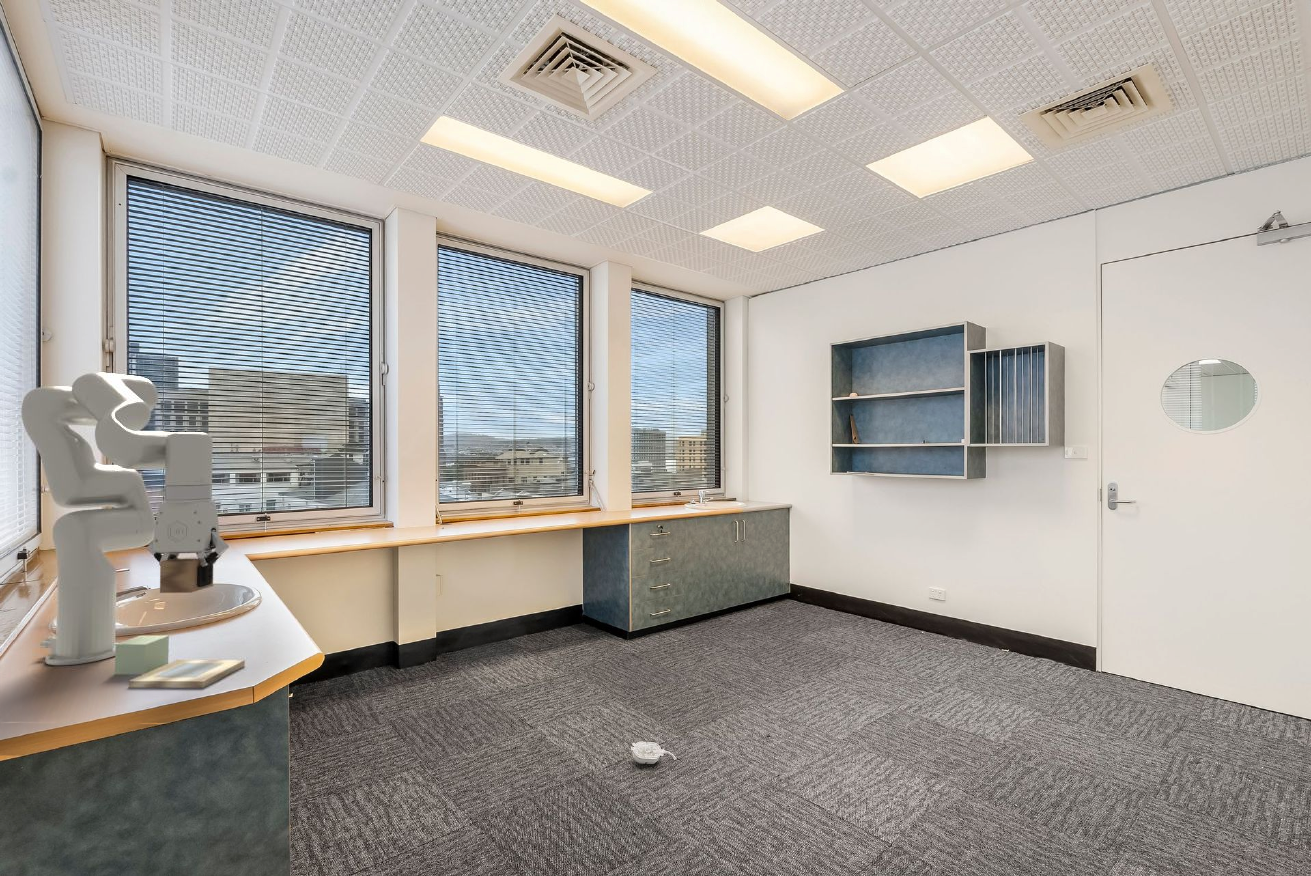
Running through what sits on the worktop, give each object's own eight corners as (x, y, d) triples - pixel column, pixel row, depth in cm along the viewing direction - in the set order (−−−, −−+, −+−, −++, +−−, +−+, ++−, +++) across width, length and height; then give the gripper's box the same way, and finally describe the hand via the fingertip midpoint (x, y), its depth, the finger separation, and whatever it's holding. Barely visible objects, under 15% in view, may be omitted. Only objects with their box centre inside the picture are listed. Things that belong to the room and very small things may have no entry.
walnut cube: (159, 592, 121) (160, 561, 121) (183, 586, 127) (183, 556, 127) (190, 592, 121) (191, 561, 121) (213, 586, 127) (213, 556, 127)
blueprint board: (128, 687, 118) (128, 680, 118) (176, 665, 130) (176, 659, 130) (203, 687, 118) (203, 681, 118) (244, 665, 130) (244, 660, 130)
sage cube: (114, 674, 125) (115, 644, 125) (139, 664, 131) (139, 635, 131) (145, 674, 125) (145, 644, 125) (168, 664, 131) (168, 635, 131)
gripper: (129, 496, 121) (128, 590, 120) (218, 495, 121) (217, 589, 120) (160, 493, 128) (159, 582, 128) (244, 492, 128) (243, 581, 128)
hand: (187, 584), depth 124 cm, fingers closed on walnut cube, 6 cm apart
